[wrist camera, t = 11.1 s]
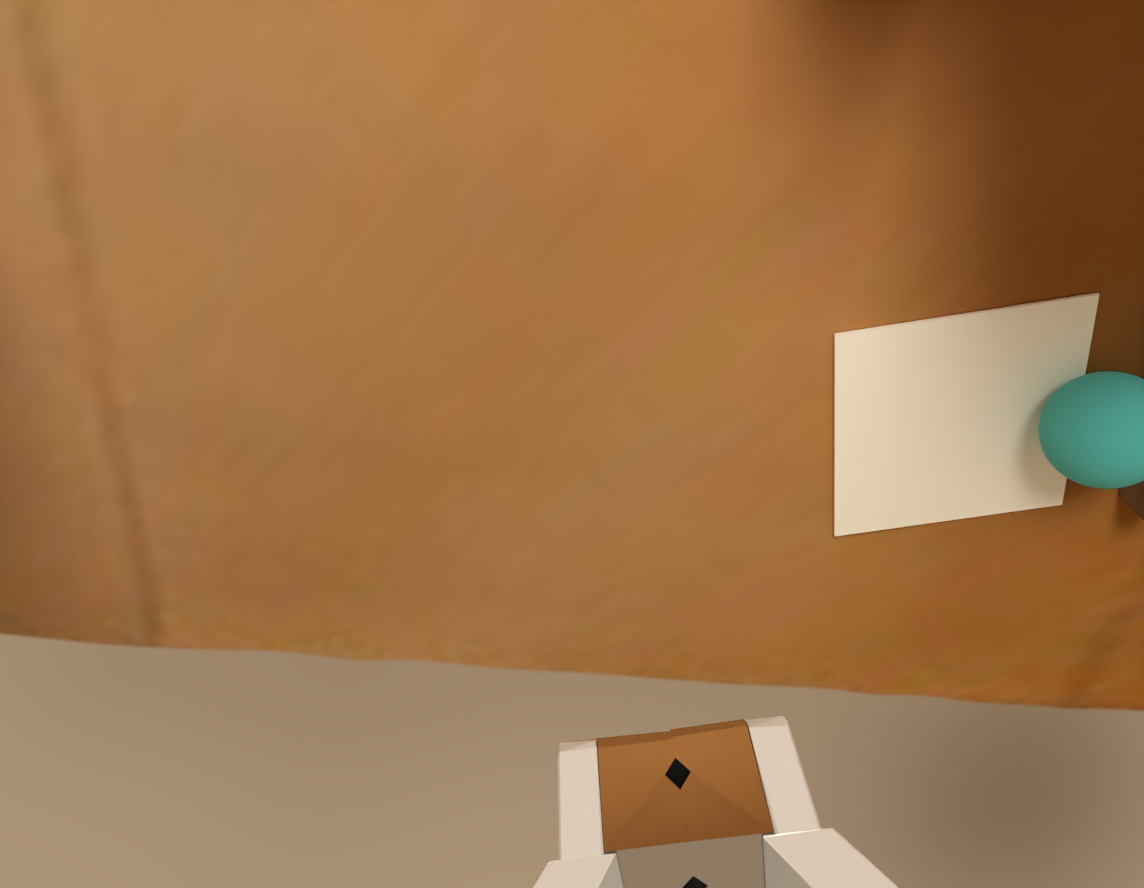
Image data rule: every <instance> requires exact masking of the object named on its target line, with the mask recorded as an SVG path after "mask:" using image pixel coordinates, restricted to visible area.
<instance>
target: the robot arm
mask: <svg viewBox="0 0 1144 888" xmlns="http://www.w3.org/2000/svg"><path fill="white" fill-rule="evenodd" d="M558 813H559V814H558V816H559V859H558V860H551V861H548V862H547V864H546V865H545V867H544V868H543V870H542V872H541V873H540V875H539V877H538V878H537V880H536V882H535V883H534V885H533V887H532V888H899V887H897V886H896V885H895V884H894V883H893V882H892V881H891V880H890V879H888V878H887V877H886V876H885V875H884V874H883V873H882V872H881V871H880V870H879V869H878V868H877V867H876V866H874V865H873V864H872V863H871V862H870V861H869V860H868V859H867V858H866V857H865V856H863V855H862V854H861V853H860V852H859V851H858V850H857V849H856V848H855V847H853V845H851V844H850V843H849V842H848V841H847V840H846V839H845V838H844V837H843V836H842V835H840V834H839V833H838V832H837V831H836V830H835V829H834V828H822V829H821V827H820V824H819V820H818V817H817V814H816V811H815V807H814V804H813V801H812V798H811V794H810V791H809V788H808V785H807V782H806V778H805V775H804V772H803V769H802V765H801V762H800V759H799V756H798V753H797V749H796V746H795V743H794V740H793V736H792V733H791V730H790V727H789V724H788V721H787V720H786V719H785V718H784V716H782V715H781V716H773V717H765V718H759V719H750V720H746V721H744V720H735V721H728V722H721V723H714V724H707V725H700V726H693V727H685V728H678V729H671V731H667V732H657V733H647V734H637V735H627V736H616V737H606V738H598V739H588V740H579V741H570V742H562V743H560V744H559V750H558Z"/></svg>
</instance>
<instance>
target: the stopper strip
mask: <svg viewBox="0 0 1144 888" xmlns="http://www.w3.org/2000/svg"><path fill="white" fill-rule="evenodd" d="M1118 495H1119V496H1120V497H1121V498H1122V499H1123V500H1124V501H1125V502H1126V503H1127V504H1128V505H1129V506H1130V507H1131V508H1132V509H1133V510H1134V511H1135V512H1136V513H1137V514H1138V515H1139V516H1140V517H1141V518H1142V519H1143V520H1144V481H1142V482H1140V483H1137V484H1134V485H1131V486H1127V487H1123V488H1119V492H1118Z"/></svg>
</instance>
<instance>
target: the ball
mask: <svg viewBox="0 0 1144 888" xmlns="http://www.w3.org/2000/svg"><path fill="white" fill-rule="evenodd" d="M1038 434H1039V441H1040V445H1041V448H1042V451H1043V453H1044V455H1045V456H1046V458H1047V460H1048V461H1049V462H1050V464H1051V465H1052V466H1053V467H1054V468H1055V469H1056V470H1057V471H1058V472H1060V473H1061V474H1062V475H1063V476H1065V477H1067V478H1068V479H1070V480H1072V481H1074V482H1076V483H1079V484H1082V485H1085V486H1088V487H1093V488H1101V489H1115V488H1123V487H1127V486H1131V485H1134V484H1137V483H1140V482H1142V481H1144V379H1143V378H1140V377H1138V376H1135V375H1132V374H1128V373H1124V372H1117V371H1101V372H1094V373H1089V374H1086V375H1082V376H1080V377H1077V378H1075V379H1073V380H1071V381H1069V382H1068V383H1066V384H1064V385H1063V386H1062V387H1060V388H1059V389H1058V390H1057V391H1056V392H1055V393H1054V394H1053V395H1052V396H1051V397H1050V399H1049V400H1048V401H1047V403H1046V405H1045V406H1044V408H1043V411H1042V413H1041V416H1040V420H1039V427H1038Z"/></svg>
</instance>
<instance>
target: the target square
mask: <svg viewBox="0 0 1144 888" xmlns="http://www.w3.org/2000/svg"><path fill="white" fill-rule="evenodd" d="M1098 300H1099V294H1098V293H1091V294H1085V295H1079V296H1072V297H1066V298H1059V299H1053V300H1047V301H1040V302H1034V303H1027V304H1021V305H1014V306H1008V307H1002V308H995V309H989V310H982V311H976V312H969V313H963V314H957V315H950V316H944V317H937V318H931V319H924V320H918V321H912V322H905V323H899V324H892V325H886V326H879V327H873V328H867V329H860V330H854V331H847V332H841V333H834V536H842V535H849V534H856V533H863V532H870V531H878V530H885V529H892V528H899V527H906V526H913V525H921V524H928V523H935V522H942V521H949V520H956V519H964V518H971V517H978V516H985V515H992V514H999V513H1007V512H1014V511H1021V510H1028V509H1035V508H1042V507H1050V506H1057V505H1062V502H1063V497H1064V491H1065V485H1066V480H1067V477H1065V476H1063V475H1062V474H1061V473H1060V472H1058V471H1057V470H1056V469H1055V468H1054V467H1053V466H1052V465H1051V464H1050V462H1049V461H1048V460H1047V458H1046V456H1045V455H1044V453H1043V451H1042V448H1041V445H1040V441H1039V434H1038V427H1039V420H1040V416H1041V413H1042V411H1043V408H1044V406H1045V405H1046V403H1047V401H1048V400H1049V399H1050V397H1051V396H1052V395H1053V394H1054V393H1055V392H1056V391H1057V390H1058V389H1059V388H1060V387H1062V386H1063V385H1064V384H1066V383H1068V382H1069V381H1071V380H1073V379H1075V378H1077V377H1080V376H1082V375H1085V373H1086V367H1087V362H1088V356H1089V351H1090V345H1091V339H1092V334H1093V328H1094V323H1095V317H1096V311H1097V306H1098Z"/></svg>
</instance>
